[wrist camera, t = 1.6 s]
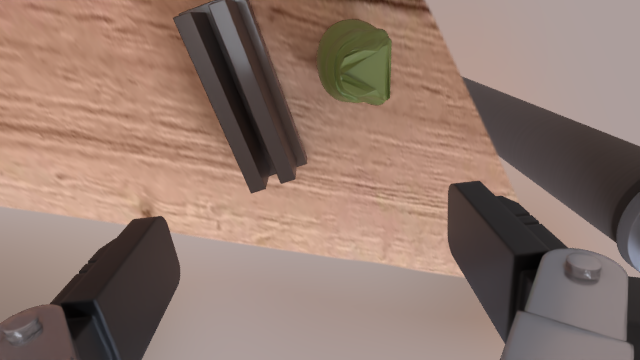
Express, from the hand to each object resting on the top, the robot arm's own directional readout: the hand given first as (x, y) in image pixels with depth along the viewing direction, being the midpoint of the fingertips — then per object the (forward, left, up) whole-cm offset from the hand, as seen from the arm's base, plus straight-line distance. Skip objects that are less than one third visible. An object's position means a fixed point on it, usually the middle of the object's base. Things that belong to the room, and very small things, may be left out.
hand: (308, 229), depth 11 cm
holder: (+5, -1, -23) cm, 23 cm away
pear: (-4, -1, -23) cm, 23 cm away
